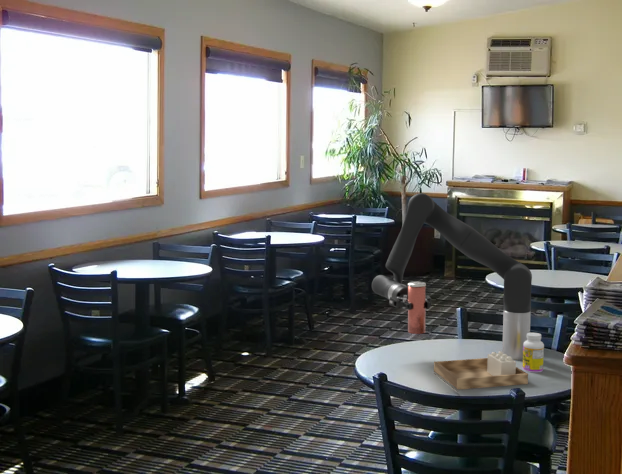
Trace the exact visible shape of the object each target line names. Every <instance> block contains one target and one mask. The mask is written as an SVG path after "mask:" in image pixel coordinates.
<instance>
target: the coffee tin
mask: <svg viewBox="0 0 622 474" xmlns="http://www.w3.org/2000/svg"><path fill="white" fill-rule="evenodd" d="M407 286H408V302H410V303H411V310H408V309H407V333H409V334H413V335H422V334H425V333H426V308H425V295H426V287H427V284H426V282H423V281H409V282H408V283H407Z"/></svg>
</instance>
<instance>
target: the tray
mask: <svg viewBox="0 0 622 474" xmlns="http://www.w3.org/2000/svg"><path fill="white" fill-rule="evenodd" d="M487 360H488V357H482V358H481V357H480V358H468V359H466V358H465V359H454V360H441V361H433V372H434V373H433V374H434V375H436V376H437V377H438V378H439V379H441V380H442V381H443V382H444V383H446V384H447V385H448V386H450V388H452V389H453V390H455V391H456V392H459V391H458V390H468V389H469V390H470V389H471V390H472V389H480V388H493V387H494V388H495V387H505V386H520V385H528V383H529V373H528V372H527V371H524V370H523V369H522V368H521V369H520V368H519V367H517V366H516V374H510V375H497V376H493V375H491V374H490V373H488V372H487Z"/></svg>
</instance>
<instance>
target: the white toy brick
mask: <svg viewBox="0 0 622 474" xmlns="http://www.w3.org/2000/svg"><path fill="white" fill-rule="evenodd" d="M487 358H488V360H487V372H488V373H490V374H491V375H493V376H497V375H510V374H516V367H517V360H516V361H515V360H513V359H512V357H510V356H508V355H507V354H503V352H502V350H500V351H498V353H497V352H496V351H492V352H491V353H487Z"/></svg>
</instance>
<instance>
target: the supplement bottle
mask: <svg viewBox="0 0 622 474" xmlns="http://www.w3.org/2000/svg"><path fill="white" fill-rule="evenodd" d="M541 340H542V334H541V333H538V332H531V333H527V341H525V342H524V344H523V360H522V371H524V372H527V373H542V372H544V353H545V351H544V350H545V344H544V342H543V341H541Z"/></svg>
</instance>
